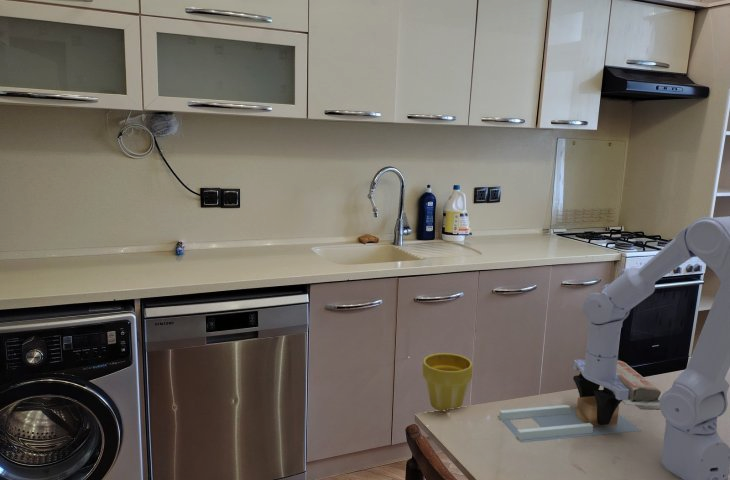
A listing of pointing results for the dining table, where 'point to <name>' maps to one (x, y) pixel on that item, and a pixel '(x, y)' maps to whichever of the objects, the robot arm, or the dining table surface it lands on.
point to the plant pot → (447, 379)
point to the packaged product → (638, 388)
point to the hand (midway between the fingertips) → (595, 417)
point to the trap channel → (559, 424)
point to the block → (592, 411)
